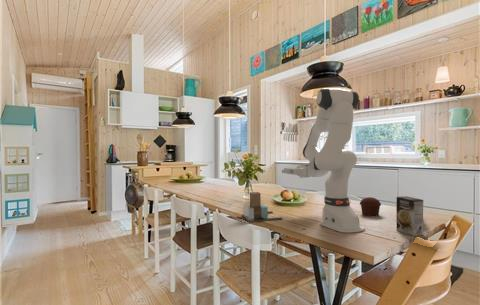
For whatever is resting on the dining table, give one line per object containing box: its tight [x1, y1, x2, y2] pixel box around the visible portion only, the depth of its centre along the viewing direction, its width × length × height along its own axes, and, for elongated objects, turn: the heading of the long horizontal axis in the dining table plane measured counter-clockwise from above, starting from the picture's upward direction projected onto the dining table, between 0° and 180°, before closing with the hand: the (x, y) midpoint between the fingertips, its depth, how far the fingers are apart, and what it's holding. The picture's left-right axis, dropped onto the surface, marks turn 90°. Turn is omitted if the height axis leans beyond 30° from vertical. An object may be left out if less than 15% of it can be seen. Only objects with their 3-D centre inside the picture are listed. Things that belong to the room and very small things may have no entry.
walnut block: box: [249, 191, 262, 218], centre depth 155 cm, size 5×5×14 cm
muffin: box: [359, 196, 382, 217], centre depth 158 cm, size 12×11×10 cm
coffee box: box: [396, 195, 424, 237], centre depth 124 cm, size 9×6×16 cm
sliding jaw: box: [261, 202, 269, 219], centre depth 156 cm, size 12×3×6 cm, turn 14°
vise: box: [241, 203, 283, 223], centre depth 156 cm, size 16×20×7 cm
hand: (282, 171), depth 164 cm, fingers closed
